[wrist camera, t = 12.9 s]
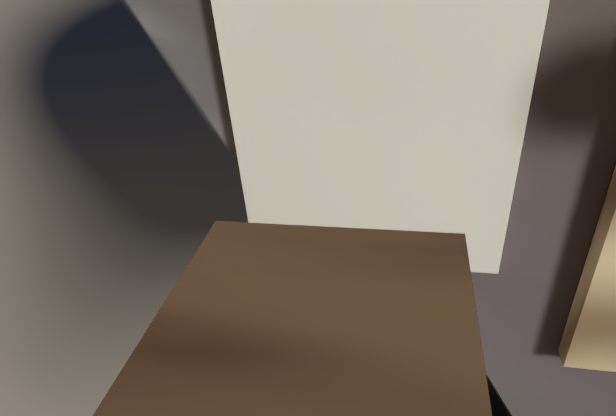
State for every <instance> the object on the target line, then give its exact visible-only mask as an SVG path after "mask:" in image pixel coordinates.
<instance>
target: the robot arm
mask: <svg viewBox="0 0 616 416" xmlns="http://www.w3.org/2000/svg"><path fill="white" fill-rule="evenodd" d="M486 378H487V384H488V391H489V398H490V404H491V411H492V416H512V415H511V413H510V412H509V410H508V408H507V407H506V405H505V403H504V402H503V400H502V399H501V397H500V395H499V394H498V392H497V391H496V389H495V387H494V386H493V384H492V383H491V381H490V379H489V378H488V376H487V375H486Z"/></svg>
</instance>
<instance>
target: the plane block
mask: <svg viewBox="0 0 616 416" xmlns="http://www.w3.org/2000/svg"><path fill="white" fill-rule="evenodd" d="M558 351H559V354H560V358H561V361H562V364H563V367H573V368H583V369H593V370H603V371H613V372H616V166H615V169H614V172H613V176H612V179H611V182H610V185H609V188H608V192H607V195H606V198H605V201H604V204H603V208H602V211H601V214H600V217H599V220H598V224H597V227H596V230H595V233H594V236H593V240H592V243H591V246H590V249H589V252H588V255H587V259H586V262H585V265H584V268H583V271H582V275H581V278H580V281H579V284H578V287H577V291H576V294H575V297H574V300H573V303H572V307H571V310H570V313H569V316H568V319H567V323H566V326H565V329H564V332H563V335H562V339H561V342H560V345H559V348H558Z"/></svg>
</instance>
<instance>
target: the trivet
mask: <svg viewBox="0 0 616 416" xmlns="http://www.w3.org/2000/svg"><path fill="white" fill-rule="evenodd" d="M549 1H550V0H211V5H212V11H213V17H214V23H215V29H216V35H217V41H218V47H219V52H220V58H221V64H222V70H223V76H224V82H225V88H226V94H227V99H228V105H229V111H230V117H231V123H232V129H233V135H234V141H235V146H236V152H237V158H238V164H239V169H240V175H241V182H242V188H243V193H244V199H245V205H246V211H247V217H248V223H267V224H286V225H306V226H325V227H345V228H364V229H384V230H403V231H423V232H442V233H462V234H465V237H466V244H467V250H468V257H469V264H470V270H471V272H481V273H496V274H498V272H499V267H500V261H501V256H502V251H503V245H504V240H505V235H506V229H507V224H508V219H509V214H510V208H511V203H512V198H513V192H514V187H515V182H516V176H517V171H518V166H519V160H520V155H521V150H522V145H523V139H524V134H525V129H526V123H527V118H528V113H529V107H530V102H531V97H532V92H533V86H534V81H535V76H536V70H537V65H538V60H539V54H540V49H541V44H542V38H543V33H544V28H545V23H546V17H547V12H548V7H549Z"/></svg>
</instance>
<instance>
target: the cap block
mask: <svg viewBox="0 0 616 416" xmlns="http://www.w3.org/2000/svg"><path fill="white" fill-rule="evenodd" d="M93 416H492V411H491V404H490V398H489V391H488V384H487V378H486V371H485V364H484V357H483V351H482V344H481V337H480V331H479V324H478V317H477V311H476V304H475V297H474V290H473V284H472V277H471V270H470V264H469V257H468V250H467V244H466V237H465V234H462V233H442V232H423V231H403V230H384V229H364V228H345V227H325V226H306V225H286V224H267V223H247V222H245V223H244V222H228V221H215V223H214V225H213V226H212V228H211V230H210V231H209V233H208V234H207V236H206V237H205V239H204V241H203V242H202V244H201V245H200V247H199V248H198V250H197V252H196V253H195V255H194V256H193V258H192V260H191V261H190V263H189V264H188V266H187V267H186V269H185V271H184V272H183V274H182V275H181V277H180V278H179V280H178V282H177V283H176V285H175V286H174V288H173V290H172V291H171V293H170V295H169V296H168V298H167V299H166V301H165V302H164V304H163V306H162V307H161V309H160V310H159V312H158V314H157V315H156V317H155V318H154V320H153V321H152V323H151V324H150V326H149V328H148V329H147V331H146V333H145V334H144V336H143V337H142V339H141V340H140V342H139V344H138V345H137V347H136V348H135V350H134V351H133V353H132V355H131V356H130V358H129V359H128V361H127V363H126V364H125V366H124V367H123V369H122V370H121V372H120V374H119V375H118V377H117V378H116V380H115V382H114V383H113V385H112V386H111V388H110V389H109V391H108V393H107V394H106V396H105V397H104V399H103V400H102V402H101V404H100V405H99V407H98V408H97V410H96V412H95V413H94V415H93Z"/></svg>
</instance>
